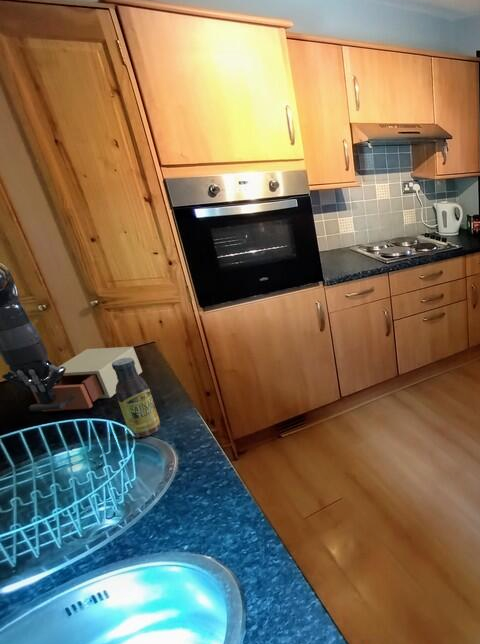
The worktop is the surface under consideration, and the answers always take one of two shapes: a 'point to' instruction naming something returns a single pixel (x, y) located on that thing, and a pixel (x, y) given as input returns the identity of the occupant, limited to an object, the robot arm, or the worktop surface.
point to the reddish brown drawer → (72, 393)
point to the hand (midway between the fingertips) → (49, 402)
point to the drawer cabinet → (101, 366)
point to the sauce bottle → (135, 399)
